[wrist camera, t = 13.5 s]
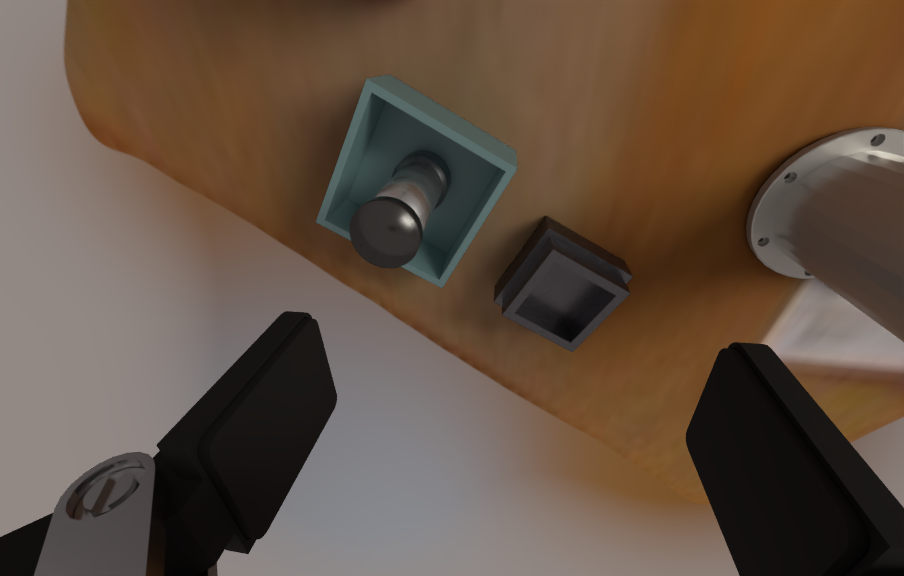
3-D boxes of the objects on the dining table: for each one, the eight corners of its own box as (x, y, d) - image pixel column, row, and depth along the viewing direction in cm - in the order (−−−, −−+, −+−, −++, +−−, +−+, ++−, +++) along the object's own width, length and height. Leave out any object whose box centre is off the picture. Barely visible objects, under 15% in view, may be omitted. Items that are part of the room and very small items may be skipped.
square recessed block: (624, 261, 37) (641, 291, 32) (566, 324, 41) (573, 358, 37) (545, 215, 36) (551, 240, 31) (494, 286, 40) (493, 316, 35)
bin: (516, 150, 33) (517, 168, 28) (450, 257, 39) (442, 288, 34) (389, 74, 31) (366, 78, 26) (342, 199, 37) (315, 222, 32)
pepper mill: (426, 138, 33) (384, 181, 22) (461, 182, 34) (439, 244, 23) (387, 173, 35) (330, 228, 24) (422, 213, 36) (384, 283, 25)
